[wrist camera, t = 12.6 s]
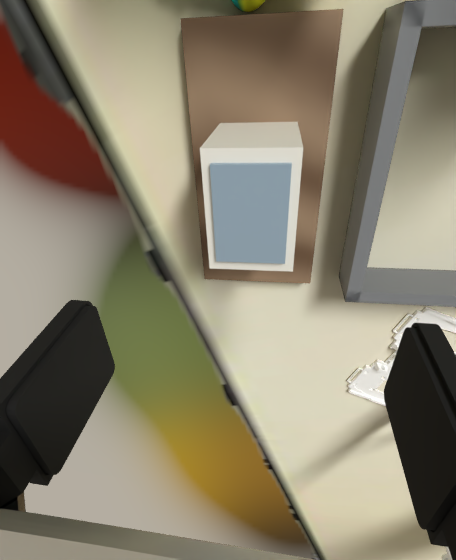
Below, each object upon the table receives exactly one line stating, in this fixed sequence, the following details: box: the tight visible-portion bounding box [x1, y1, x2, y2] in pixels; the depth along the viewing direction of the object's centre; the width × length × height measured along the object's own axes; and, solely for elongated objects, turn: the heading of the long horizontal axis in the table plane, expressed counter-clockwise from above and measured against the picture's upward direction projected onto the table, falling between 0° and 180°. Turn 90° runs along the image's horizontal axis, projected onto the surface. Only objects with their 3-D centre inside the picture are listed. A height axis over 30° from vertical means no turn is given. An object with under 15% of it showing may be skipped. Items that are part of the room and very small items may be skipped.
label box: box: [200, 122, 303, 272], centre depth 21 cm, size 5×7×7 cm
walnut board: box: [181, 9, 343, 283], centre depth 24 cm, size 18×9×1 cm, turn 2°
